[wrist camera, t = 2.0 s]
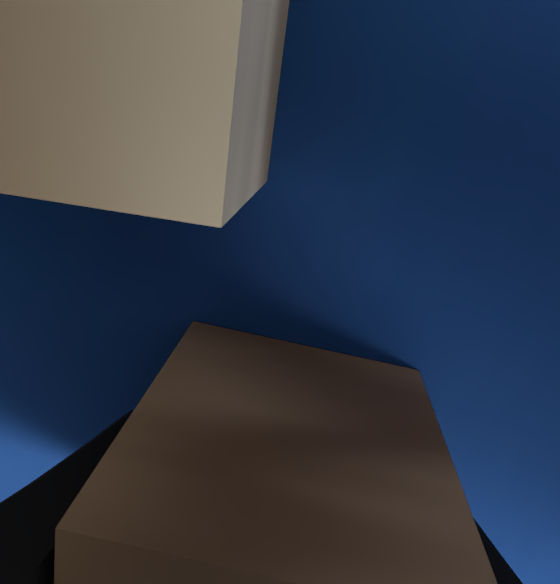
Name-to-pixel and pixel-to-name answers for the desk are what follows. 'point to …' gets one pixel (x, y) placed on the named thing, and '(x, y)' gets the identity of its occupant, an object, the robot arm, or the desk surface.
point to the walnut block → (273, 476)
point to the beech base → (140, 103)
